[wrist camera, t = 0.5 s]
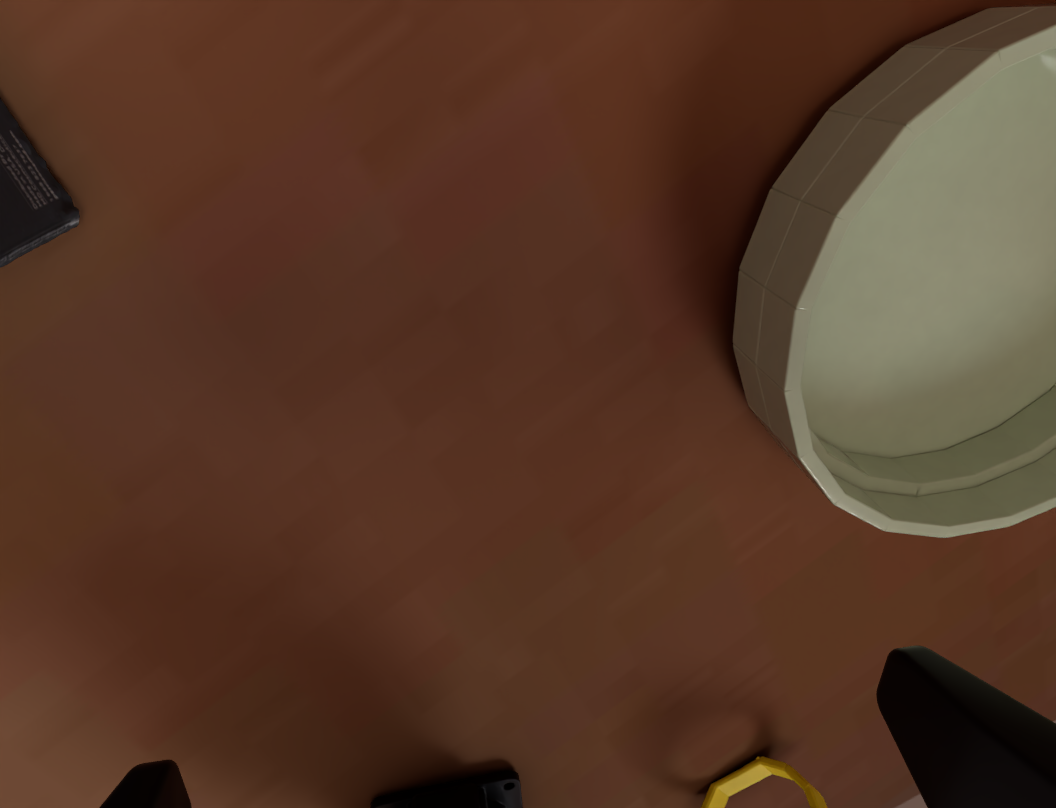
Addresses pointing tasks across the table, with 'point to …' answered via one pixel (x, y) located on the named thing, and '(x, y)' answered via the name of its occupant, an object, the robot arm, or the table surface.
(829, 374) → the bowl
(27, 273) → the table surface
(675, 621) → the table surface
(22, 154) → the small box
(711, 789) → the watch
